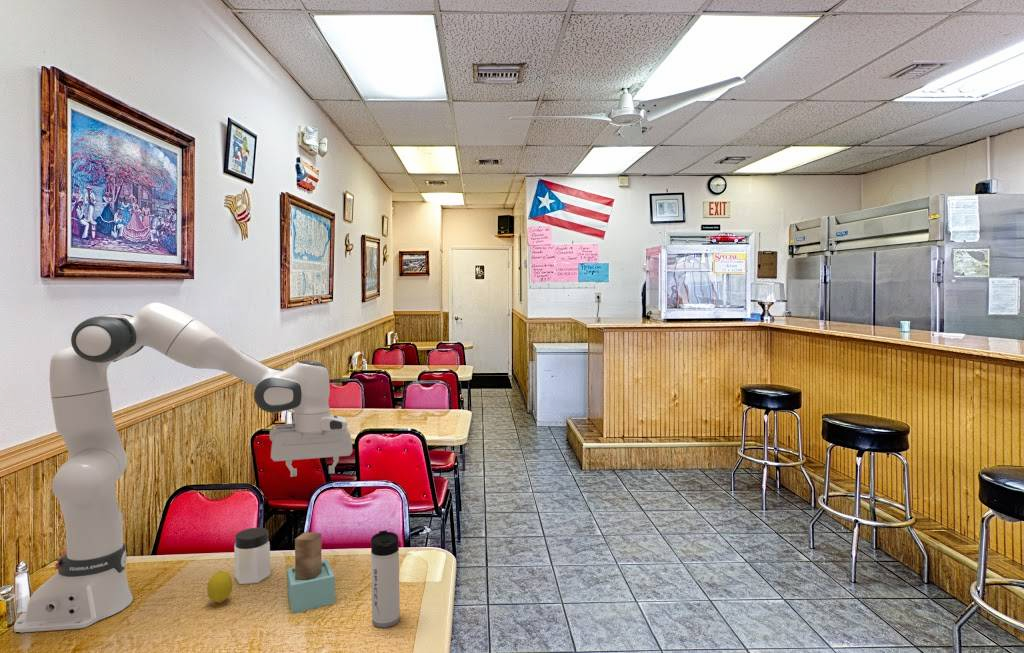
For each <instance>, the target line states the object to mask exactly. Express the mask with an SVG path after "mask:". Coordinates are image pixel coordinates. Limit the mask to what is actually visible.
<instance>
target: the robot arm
mask: <svg viewBox="0 0 1024 653" xmlns="http://www.w3.org/2000/svg"><path fill="white" fill-rule="evenodd" d="M70 342H71V346H68V347H65V348H62V349H59V350H58V351H56V353H54V354H53V355H52V357H51V359H50V364H49V390H50V391H49V392H50V397H51V405H52V410H53V418H54V423H55V429H56V431H57V433H58V434H59V435H60V436H61V438H62V440H63V441H64V444H65V446H66V449H67V452H68V456H69V458H68V460H66V461H65V462H64V463H63V464H62V465H61V466H60V467H59V468H58V470H57V471H56V474H55V475H54V478H53V480H52V484H51V490H52V493H53V495H54V497H55V498H56V500H58V502H59V507H60V510H61V513H62V516H63V519H64V525H65V526H64V527H65V541H66V544H65V545H66V550H65V551H64V552H62V554H61V557H60V558H58V559H57V561H56V563H55V564H54V570H57V572H55V573H54V574H53V575H52V576H51V577H49V578H48V579H47V580H46V581H44V582H43V583H42V584H41V585H40V586H39V587H38V588H36V590H35V591H34V592H32V594H31V595H30V598H29V600H28V603H27V608H26V610H27V612H26V613H24V614H22V613H21V614H22V615H21V614H20V615H19V616H18V617H17V619H16V620H15V622H14V626H13V631H14V632H15V633H16V632H20V633H31V632H47V631H49V632H50V631H60V630H61V631H62V630H75V629H76V630H77V629H84V628H85V629H86V628H88V627H89V626H91V625H93V624H95V623H97V622H98V621H100V620H103V619H105V618H108V617H110V616H114V615H115V614H117V613H119V612H121V611H123V610H124V609H126V608H127V607H128V606H130V604H132V602H133V600H134V596H133V595H132V592H131V590H130V586H129V582H128V579H127V572H126V566H127V551H126V544H125V543H124V533H123V532H124V530H123V529H124V528H123V512H122V511H121V509H120V507H119V504H118V499H117V495H116V494H117V493H116V483H117V481H118V480H120V478H121V477H122V476H123V474H124V473H125V471H126V469H127V465H128V455H127V452H126V450H125V449H124V448H123V444H122V439H121V437H120V435H119V431H118V429H117V426H116V423H115V419H114V413H113V407H112V402H111V395H110V387H109V382H108V368H109V366H110V365H111V363H112V362H113V363H115V362H117V361H121V360H123V359H125V358H128V357H131V356H133V355H136V354H137V353H138V352H140V351H141V350H143V348H145V347H148V348H151V349H153V350H156V351H157V352H159V353H160V354H163V355H164V356H165V357H168V358H170V359H171V360H173V361H175V362H177V363H179V364H181V365H184V366H187V367H190V368H193V369H208V370H217V371H223V372H226V373H227V374H229V375H231V376H234V377H236V378H238V379H239V380H242V381H244V382H245V383H247V384H249V385H251V386H253V387H254V388H255V389H254V392H253V398H254V402H255V404H256V405H257V407H258V408H259V409H260V410H262V411H264V412H266V413H272V414H273V413H274V414H276V413H282V412H285V411H286V412H287V411H289V410H290V411H291V410H293V412H294V413H293V416H294V422H293V423H286V424H284V423H283V424H282V423H281V424H280V423H279V424H276V425H275V426H273V427H271V428H270V430H269V440H270V441H271V442H272V443H271V448H270V449H271V450H270V459H271V460H272V461H273V462H281V461H282V462H285V465H286V467H287V468H288V470H289V472H290V477H291V478H293V477H297V475H298V473H297V472H298V470H297V469H298V468H294V467H293V465H292V463H293V461H296V460H297V461H299V460H310V459H323V458H332V459H333V463H332V465H328V474H329V475H330V474H335V473H336V472H335V467H336V466H337V465H338V463H339V461H340V460H339V459H340V457H349V456H351V455H352V454H353V441H352V436H351V432H350V429H349V428H348V420H347V418H346V417H344V416H340V415H336V414H332V413H331V409H330V405H329V398H330V393H331V392H330V391H331V388H330V375H329V371H328V368H327V367H326V366H325V364H323V363H322V362H318V361H314V360H313V361H312V360H299V361H297V362H295V363H294V364H293V365H291V366H290V367H288V368H285V369H281V368H274V367H272V366H271V367H270V366H268V365H266V364H264V363H262V362H261V361H258V360H257V359H255V358H254V357H252V356H250V355H249V354H246V353H245V352H243V351H241V350H240V349H238V348H236V347H235V346H233V345H232V344H231V343H230V342H228V341H227V340H225V339H224V338H223V336H220V335H219V334H218V333H217V332H215V331H214V330H213V329H212V328H210V327H208V326H207V325H206V324H205V323H203V322H201V321H199V320H198V319H197V318H194V317H193V316H191V315H190V314H188V313H185V312H183V311H182V310H179V309H177V308H175V307H173V306H171V305H167V304H164V303H162V302H151V303H148V304H146V305H144V306H143V307H141V308H140V309H139V310H138V311H137V312H136V313H135V314H134V315H131V314H126V313H120V314H119V313H109V314H103V315H100V316H99V315H98V316H94V317H91V318H87V319H85V320H83V321H82V322H80V323H78V325H77V326H76V327H74V330H73V331H72V333H71V336H70Z"/></svg>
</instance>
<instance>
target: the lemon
mask: <svg viewBox="0 0 1024 653" xmlns="http://www.w3.org/2000/svg"><path fill="white" fill-rule="evenodd" d="M206 591H207V596H208V598H209V599H210V600H211V601H213V602H215V603H216V602H217V603H218V604H222V603H223V602H224V601H226V600H227V599H228V598H229V597H230V595H231V594H232V591H233V579H232V577H231V575H230V574H229V573H228V572H226V571H223V570H218V571H217V572H214V573H213V574H212V575H211V576H210V578H209V580H208V581H207V588H206Z"/></svg>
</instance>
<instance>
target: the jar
mask: <svg viewBox="0 0 1024 653" xmlns="http://www.w3.org/2000/svg"><path fill="white" fill-rule="evenodd" d="M269 535H270V534H269V531H268V529H267V528H265V527H251V528H246V529H243V530H241V531H239V532H237V533H236V534H235V536H234V537H235V538H234V547H233V549H234V551H233V552H234V577H235V580H236V581H237V583H238V584H239V585H246V584H248V585H249V584H258V583H260V582H262V581H263V580H265V579H266V578H269V577H270V576H271V544H270V540H269Z"/></svg>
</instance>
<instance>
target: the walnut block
mask: <svg viewBox="0 0 1024 653" xmlns="http://www.w3.org/2000/svg"><path fill="white" fill-rule="evenodd" d="M294 561H295V562H294V567H295V579H299V580H311V579H315V578H316V577H317V576H318V575H319V574H320V573H322V565H321V561H322V533H321V532H320V533H319V532H308V531H307V532H306V531H304V532H303V533H302V534H300V535H298V536H297V537H296V538H294Z"/></svg>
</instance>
